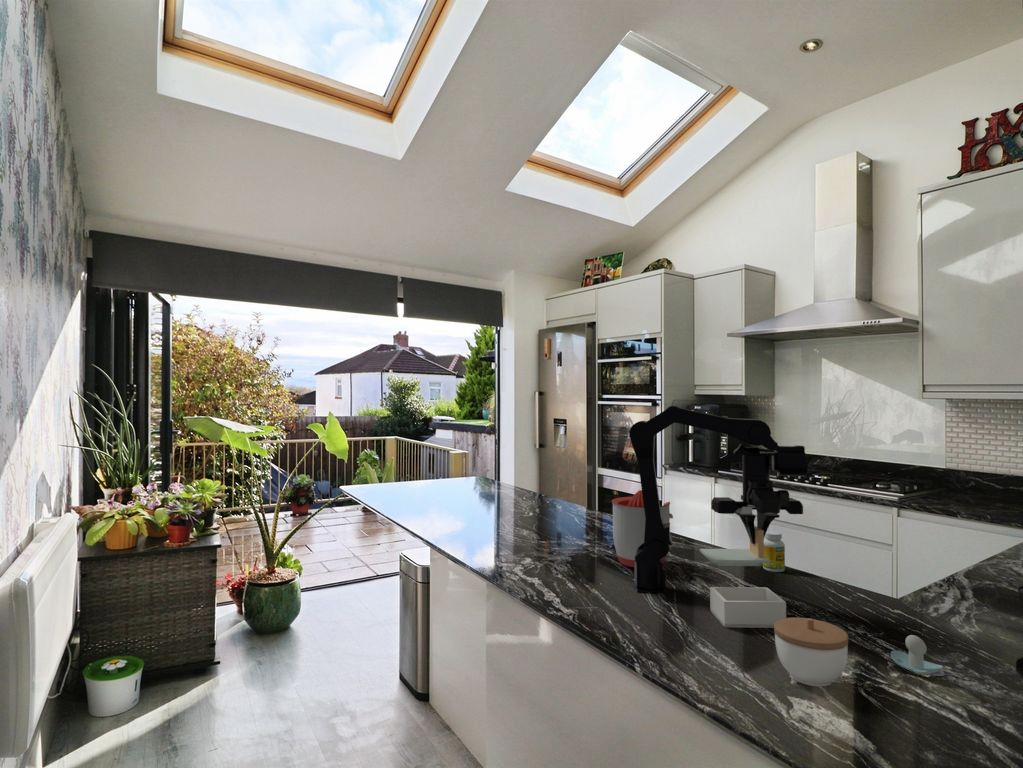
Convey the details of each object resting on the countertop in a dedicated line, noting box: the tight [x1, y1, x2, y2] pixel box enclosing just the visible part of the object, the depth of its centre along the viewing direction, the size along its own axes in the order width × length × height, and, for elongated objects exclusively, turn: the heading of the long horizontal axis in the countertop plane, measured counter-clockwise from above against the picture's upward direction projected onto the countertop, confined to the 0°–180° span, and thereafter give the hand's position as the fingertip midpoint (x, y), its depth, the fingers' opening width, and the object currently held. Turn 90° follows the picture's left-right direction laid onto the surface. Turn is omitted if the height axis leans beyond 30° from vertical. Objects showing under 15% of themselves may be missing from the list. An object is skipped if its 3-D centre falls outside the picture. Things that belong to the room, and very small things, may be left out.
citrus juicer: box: [611, 489, 674, 568], centre depth 161 cm, size 16×17×20 cm
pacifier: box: [890, 634, 946, 677], centre depth 97 cm, size 7×6×6 cm
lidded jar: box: [773, 617, 849, 688], centre depth 95 cm, size 11×11×9 cm
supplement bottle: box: [762, 530, 786, 573], centre depth 155 cm, size 5×5×10 cm
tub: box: [709, 586, 787, 629], centre depth 120 cm, size 12×9×5 cm
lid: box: [699, 524, 770, 567], centre depth 133 cm, size 12×9×8 cm
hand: (756, 543), depth 133 cm, fingers closed on lid
